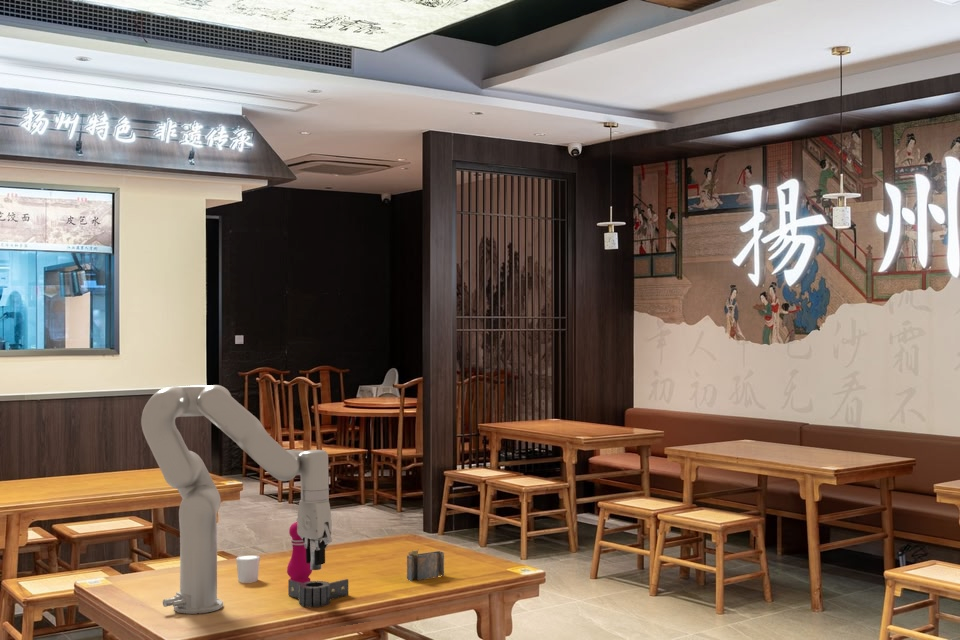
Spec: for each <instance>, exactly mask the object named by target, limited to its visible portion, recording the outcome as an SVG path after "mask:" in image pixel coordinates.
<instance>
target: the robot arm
mask: <svg viewBox="0 0 960 640" xmlns="http://www.w3.org/2000/svg"><path fill="white" fill-rule="evenodd" d="M180 417H205V418H206V419H207V420H208V421H210V422H211V423H212V424H213V425H214V426H216V428H218V429H220V430H221V432H223V433H224V434H225V435H226V436H228V438H230V439H231V440H232V441H233V442H234V443H236V445H237V446H238V447H239V448H240V449H241V450H242V451H244V452H245V453H246V454H247V455H248V456H249V457H250V458H251V459H252V460H253V461H254V462H255V463H257V465H259V466H260V467H261V468H262V469H263V470H264V471H266V472H267V473H269V475H270V476H271V477H273V478H274V479H276V480H278V481H281V482H287V481H288V482H289V481H291V480H293V479H294V478H295V477H296V476H299V477H300V500H299V503H298V507H297V518H296V522H297V533H298V535H299V536H300V537H301V538H302V539H303V541H304V543H305V545H304V546H305V548H306V563H310V539H314V540H315V543H316V550H314V560H315V565H321V566H322V565H324V564H326V549H327V547H328V545H329V544H330V543H331V542H332V541H333V539H332V538H333V537H332V532H333V531H332V530H333V529H332V525H333V524H332V523H333V522H332V513H331V504H330V500H329V499H330V498H329V497H330V495H329V494H330V492H329V489H330V488H329V482H330V481H329V453H328V452H327V451H326V450H324V449H308V450H297V449H296V450H295V449H285V448H284V447H283V446H282V445H281V444H280V443H278V441H276V440H275V438H273V437H272V436H271V435H270V434H269V432H267V430H266V429H265V428H264V426H263V424H262V423H261V421H260V419H258V418H257V417H256V416H255V415H253V413H251V412H250V411H249V410H248V409H247V408H245V407H244V406H243V405H242V404H241V403H239V401H237V400H236V399H235V398H234V397H232V394H231V392H230V391H229V390H228V388H226V387H224V386H222V385H219V384H213V385H212V384H211V385H190V386H189V385H188V386H187V385H186V386H184V385H183V386H181V385H180V386H179V385H177V386H169V387H164V388H160V389H159V390H158V391H156V392H155V393H154V394H153V395H152V396H151V397H150V398H149V399H148V401H147V402H146V404H145V406H144V408H143V410H142V414H141V419H140V421H141V429H142V433H143V435H144V437H145V440H146V443H147V445H148V447H149V448H150V451H151V452H152V455H153V458H154V459H155V461H156V463H157V465H158V467H159V469H160V471H161V473H162V476H163V478H164V480H165V482H166V484H168V486H170V487H171V488H174V489H177V491H178V493H179V495H180V497H181V501H180V504H179V509H178V522H179V543H180V544H179V553H180V555H179V561H180V562H179V563H180V564H179V567H180V568H179V569H180V570H179V575H180V576H179V581H180V582H179V583H180V584H179V589H180V590H179V591H178V592H176V595H174V596H173V597H169V598H165V599H163V600H162V606H163V607H165V608H167V607H171V606H172V607H173V611H175V612H176V611H177V612H176V613H179V612H180V613H179V614H185V613H186V614H185V615H187V614H188V615H198V614H197V613H199V614H206V613H210V612H211V613H212V612H214V611H218V610H220V609H222V608H223V605H224V601H223V600H222V599H220V598H218V529H217V528H218V527H217V526H218V525H217V523H218V522H217V516H218V515H217V514H218V511H219V510H220V508H221V501H222V500H221V494H220V492H219V490H218V488H217V486H216V483H215V482H214V480H213V478H212V476H211V474H210V472H209V470H208V469H207V467H206V464H205V463H204V461H203V459H202V458H201V456H200V455H199V454H197V452H194V451H192V450H189V448H188V446H187V445H186V443H185V441H184V438H183V436H182V434H181V432H180V431H179V429H178V427H177V425H176V419H177V418H180ZM320 541H321V543H320Z"/></svg>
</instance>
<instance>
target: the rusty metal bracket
mask: <svg viewBox="0 0 960 640" xmlns="http://www.w3.org/2000/svg"><path fill="white" fill-rule="evenodd" d="M441 575H442V576H444V577H445V552H444V551H442V550H436V551H430V552H422V553H419V549H417V550H411V551H409V552H408V554H407V555H406V580H407V579H408V580H407V581H409V580H410V581H409V582H413V580H414V579H413V578H417V579H416V581H421V580H420V579H424V580H427V579H426V578H430V579H434V578H433V577H437V578H439V577H438V576H441Z"/></svg>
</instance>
